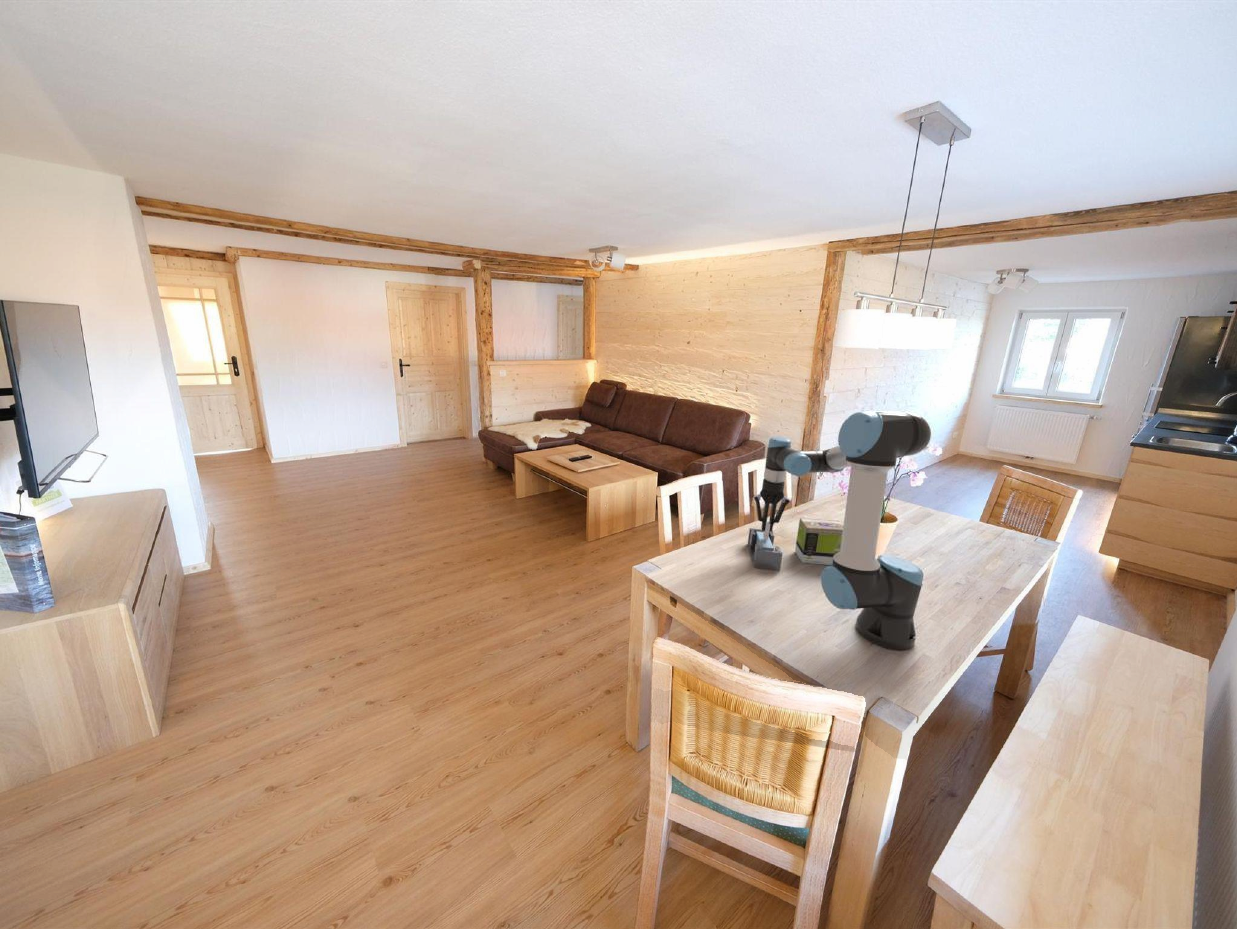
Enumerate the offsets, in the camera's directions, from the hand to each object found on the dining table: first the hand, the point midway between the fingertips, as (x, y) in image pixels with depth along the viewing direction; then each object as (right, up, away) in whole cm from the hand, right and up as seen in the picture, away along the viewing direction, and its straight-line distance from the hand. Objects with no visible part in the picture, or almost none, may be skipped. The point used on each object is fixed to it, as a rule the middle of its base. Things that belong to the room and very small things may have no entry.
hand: (765, 538), depth 177 cm
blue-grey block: (0, -6, +2) cm, 7 cm away
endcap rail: (0, -7, +2) cm, 8 cm away
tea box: (+21, -9, +3) cm, 23 cm away
